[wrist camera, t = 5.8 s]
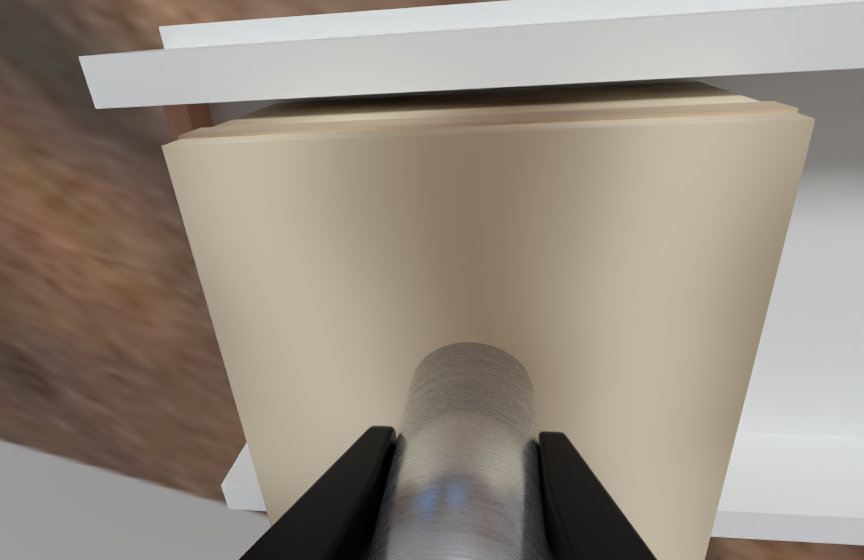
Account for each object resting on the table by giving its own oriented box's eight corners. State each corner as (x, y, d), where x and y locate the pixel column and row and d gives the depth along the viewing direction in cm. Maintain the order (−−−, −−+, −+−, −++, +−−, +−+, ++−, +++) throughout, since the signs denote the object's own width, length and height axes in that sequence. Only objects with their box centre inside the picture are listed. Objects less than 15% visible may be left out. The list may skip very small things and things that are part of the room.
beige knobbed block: (332, 415, 18) (121, 912, 8) (274, 100, 13) (-388, 340, 3) (647, 425, 16) (868, 1040, 6) (699, 78, 12) (1669, 371, 2)
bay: (278, 434, 20) (199, 581, 14) (176, 25, 14) (-23, 31, 8) (966, 459, 17) (1175, 657, 11) (1230, -53, 11) (1929, -121, 5)
